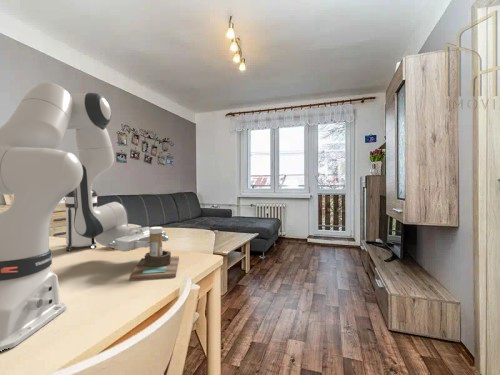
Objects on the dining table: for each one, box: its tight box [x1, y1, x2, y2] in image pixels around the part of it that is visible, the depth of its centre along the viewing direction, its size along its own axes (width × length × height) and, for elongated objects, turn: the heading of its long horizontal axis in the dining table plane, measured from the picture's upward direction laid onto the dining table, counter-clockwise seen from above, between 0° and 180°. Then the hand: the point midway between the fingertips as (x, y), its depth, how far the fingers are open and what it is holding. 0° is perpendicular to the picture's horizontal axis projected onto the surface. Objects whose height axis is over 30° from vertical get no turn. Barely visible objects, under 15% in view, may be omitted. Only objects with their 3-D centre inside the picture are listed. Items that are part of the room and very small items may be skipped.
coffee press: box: [64, 189, 99, 252], centre depth 117 cm, size 17×16×30 cm
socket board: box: [129, 250, 180, 281], centre depth 89 cm, size 19×14×5 cm
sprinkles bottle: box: [149, 226, 164, 257], centre depth 90 cm, size 5×5×14 cm
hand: (158, 241), depth 91 cm, fingers open, 8 cm apart
